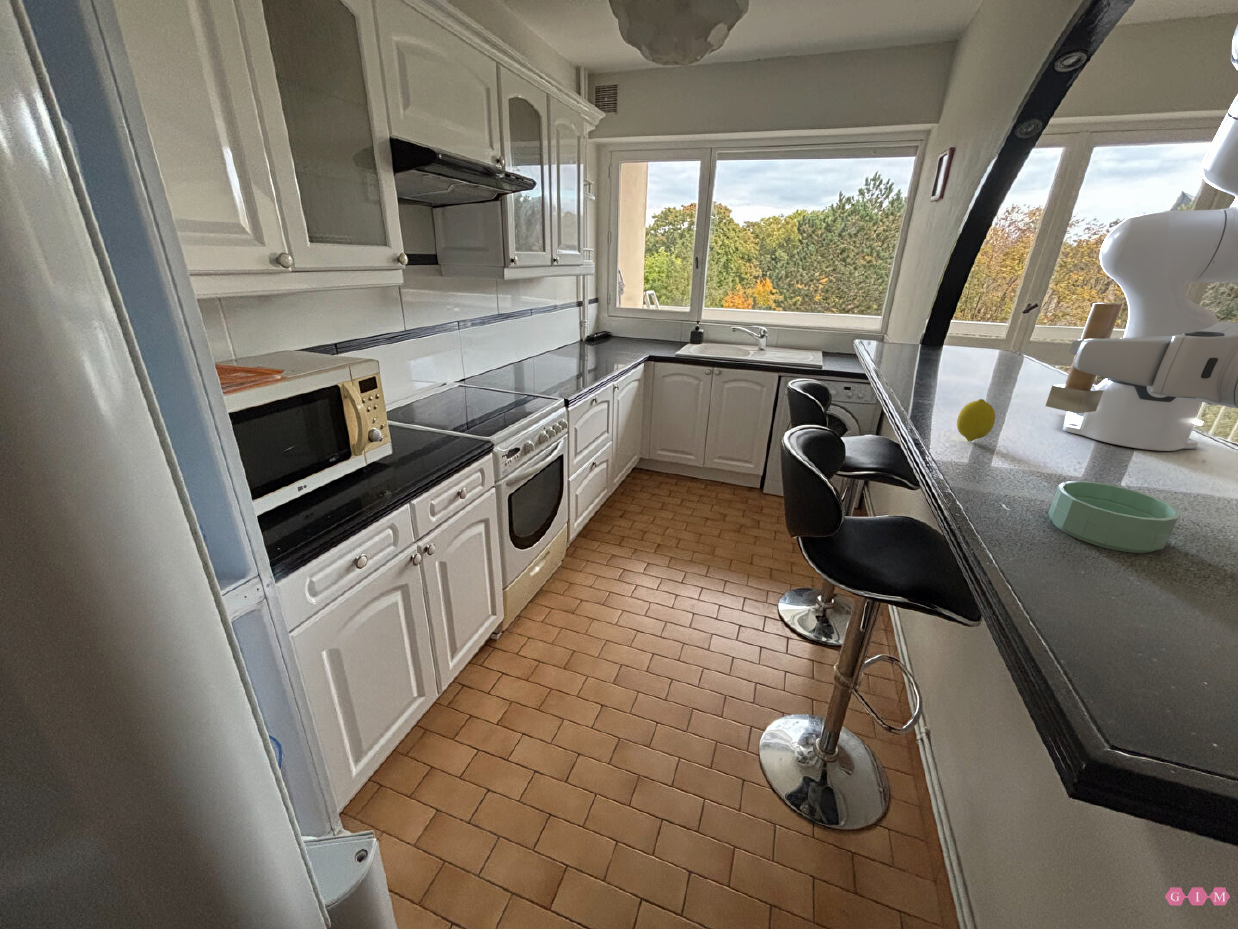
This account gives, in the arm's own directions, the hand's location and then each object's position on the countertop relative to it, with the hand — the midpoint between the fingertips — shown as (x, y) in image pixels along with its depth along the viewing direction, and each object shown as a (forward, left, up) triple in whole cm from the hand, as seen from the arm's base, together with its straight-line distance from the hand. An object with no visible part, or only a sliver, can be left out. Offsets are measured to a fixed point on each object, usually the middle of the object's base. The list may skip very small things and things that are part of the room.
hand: (1084, 345), depth 68 cm
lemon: (-18, -7, -20) cm, 28 cm away
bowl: (+14, +5, -20) cm, 25 cm away
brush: (+1, +1, -8) cm, 9 cm away
